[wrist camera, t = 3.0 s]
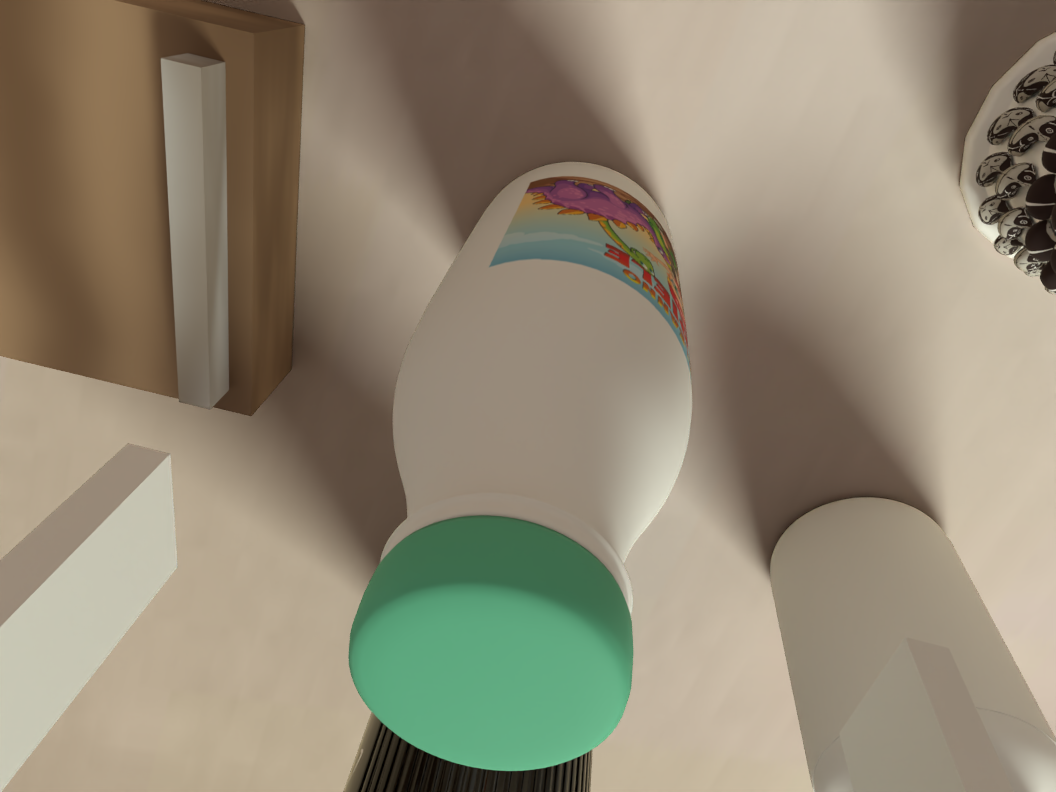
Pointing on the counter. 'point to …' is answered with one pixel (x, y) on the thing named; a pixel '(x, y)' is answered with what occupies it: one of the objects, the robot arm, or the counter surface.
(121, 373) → the display riser
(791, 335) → the counter surface
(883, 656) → the pill bottle
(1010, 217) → the decorative candle
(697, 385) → the counter surface
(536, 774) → the black water bottle
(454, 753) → the milk bottle
